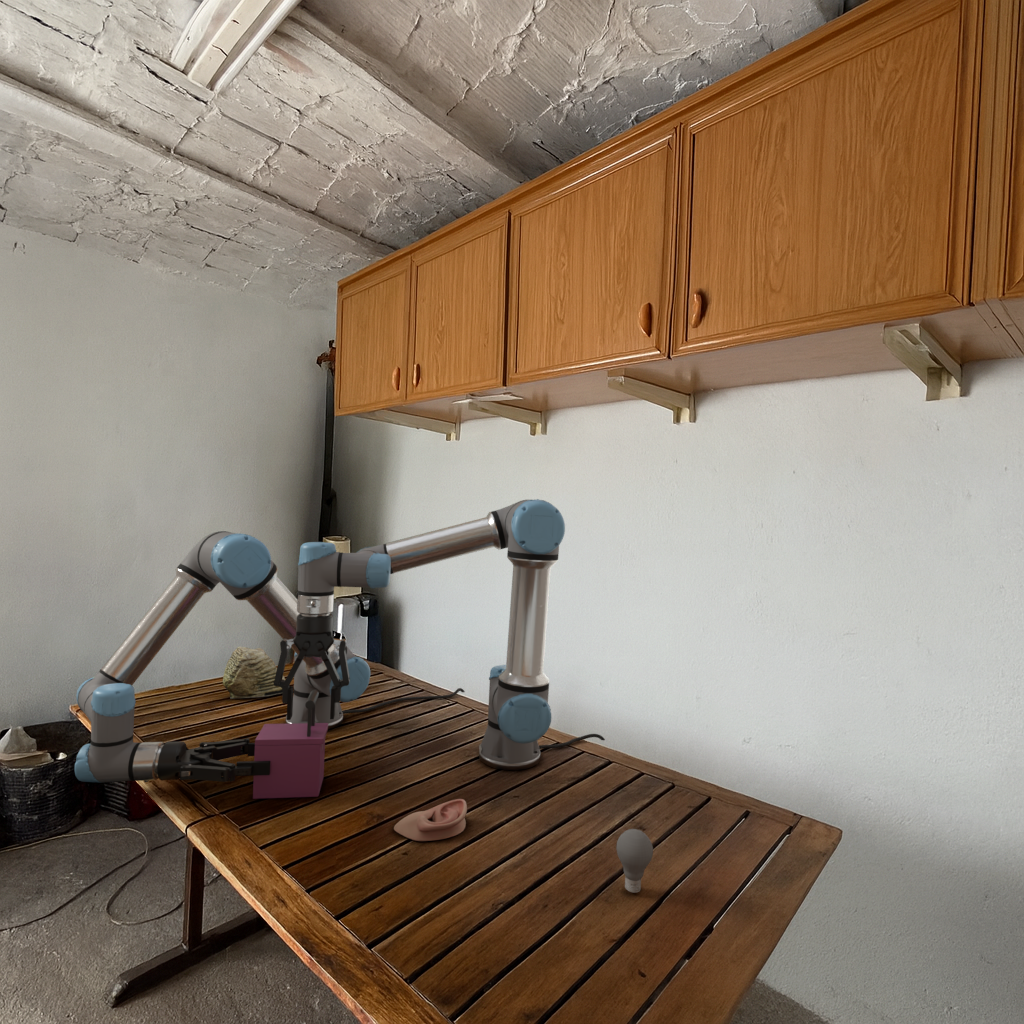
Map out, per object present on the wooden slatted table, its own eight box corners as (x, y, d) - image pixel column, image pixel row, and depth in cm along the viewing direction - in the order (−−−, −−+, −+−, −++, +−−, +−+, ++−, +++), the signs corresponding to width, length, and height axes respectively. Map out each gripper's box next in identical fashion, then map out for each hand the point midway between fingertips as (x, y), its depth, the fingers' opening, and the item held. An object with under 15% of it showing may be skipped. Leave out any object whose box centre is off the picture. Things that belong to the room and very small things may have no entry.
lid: (328, 728, 143) (329, 688, 143) (323, 744, 134) (324, 701, 134) (264, 729, 140) (265, 688, 140) (254, 745, 131) (256, 702, 131)
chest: (323, 777, 143) (325, 728, 143) (318, 796, 134) (320, 744, 134) (262, 779, 141) (264, 729, 140) (252, 799, 132) (254, 745, 131)
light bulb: (610, 879, 108) (613, 822, 108) (644, 879, 109) (647, 822, 109) (619, 902, 102) (622, 840, 102) (655, 901, 103) (658, 840, 103)
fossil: (218, 695, 195) (220, 647, 195) (278, 685, 208) (279, 640, 207) (228, 703, 189) (230, 653, 188) (289, 692, 201) (290, 645, 201)
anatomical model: (388, 815, 119) (410, 788, 130) (387, 836, 119) (409, 808, 130) (456, 826, 116) (472, 797, 127) (455, 847, 116) (471, 817, 128)
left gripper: (179, 757, 144) (283, 754, 147) (140, 803, 122) (263, 799, 126) (180, 724, 143) (284, 722, 147) (141, 765, 122) (264, 761, 126)
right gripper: (260, 616, 132) (256, 724, 132) (363, 617, 135) (359, 722, 136) (267, 609, 139) (263, 712, 140) (365, 611, 143) (361, 710, 143)
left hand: (274, 758), depth 137 cm, fingers closed on chest, 9 cm apart
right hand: (311, 717), depth 138 cm, fingers open, 8 cm apart
